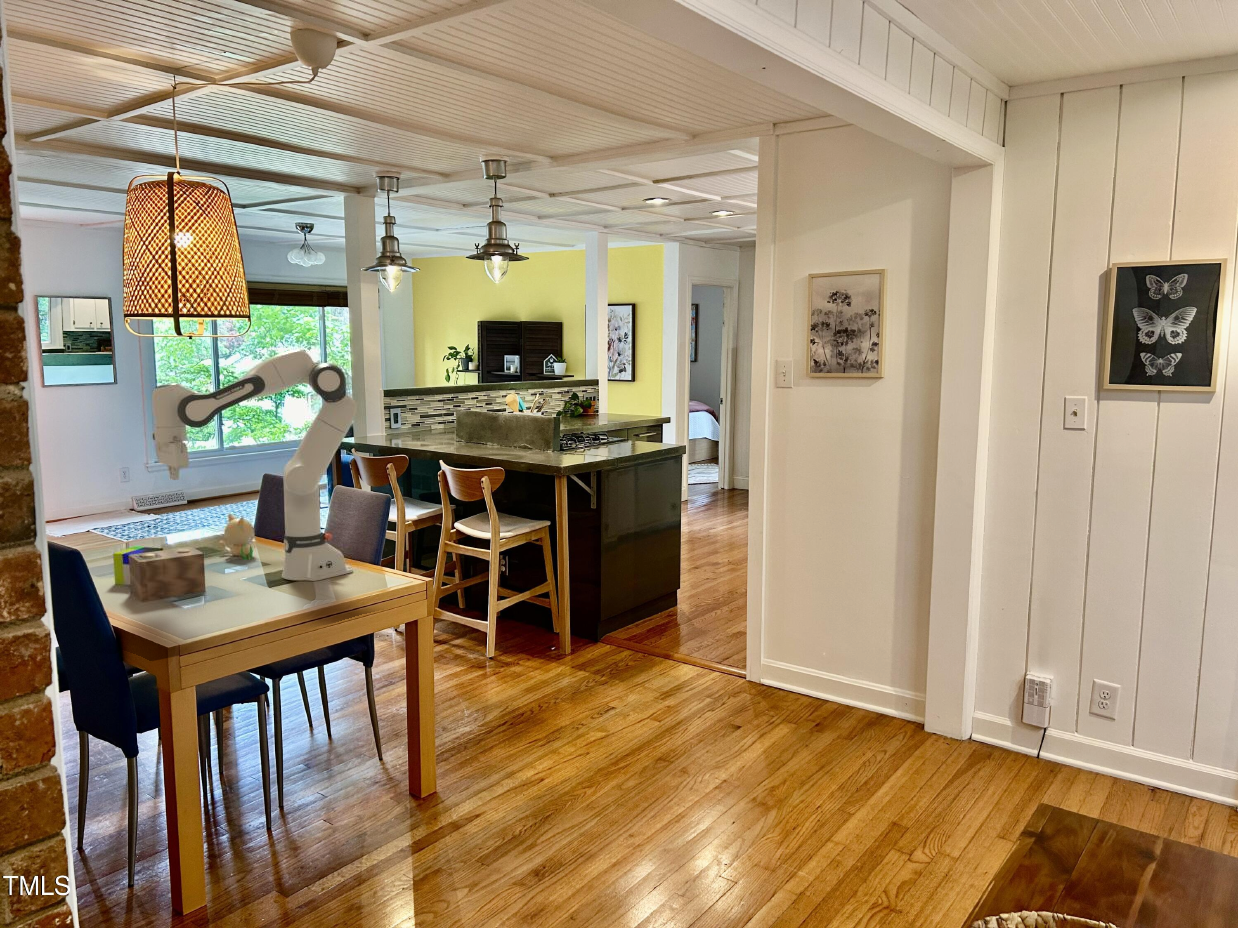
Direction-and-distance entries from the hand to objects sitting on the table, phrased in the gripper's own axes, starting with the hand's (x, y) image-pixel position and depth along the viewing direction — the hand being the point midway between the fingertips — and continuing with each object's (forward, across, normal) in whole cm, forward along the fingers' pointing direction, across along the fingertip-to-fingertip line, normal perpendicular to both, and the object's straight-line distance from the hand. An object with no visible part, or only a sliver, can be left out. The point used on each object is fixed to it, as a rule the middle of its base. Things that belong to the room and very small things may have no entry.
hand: (174, 479), depth 275 cm
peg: (+33, -7, +11) cm, 35 cm away
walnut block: (+34, -7, +6) cm, 35 cm away
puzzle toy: (+34, +13, +9) cm, 37 cm away
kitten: (+35, +28, -28) cm, 53 cm away
